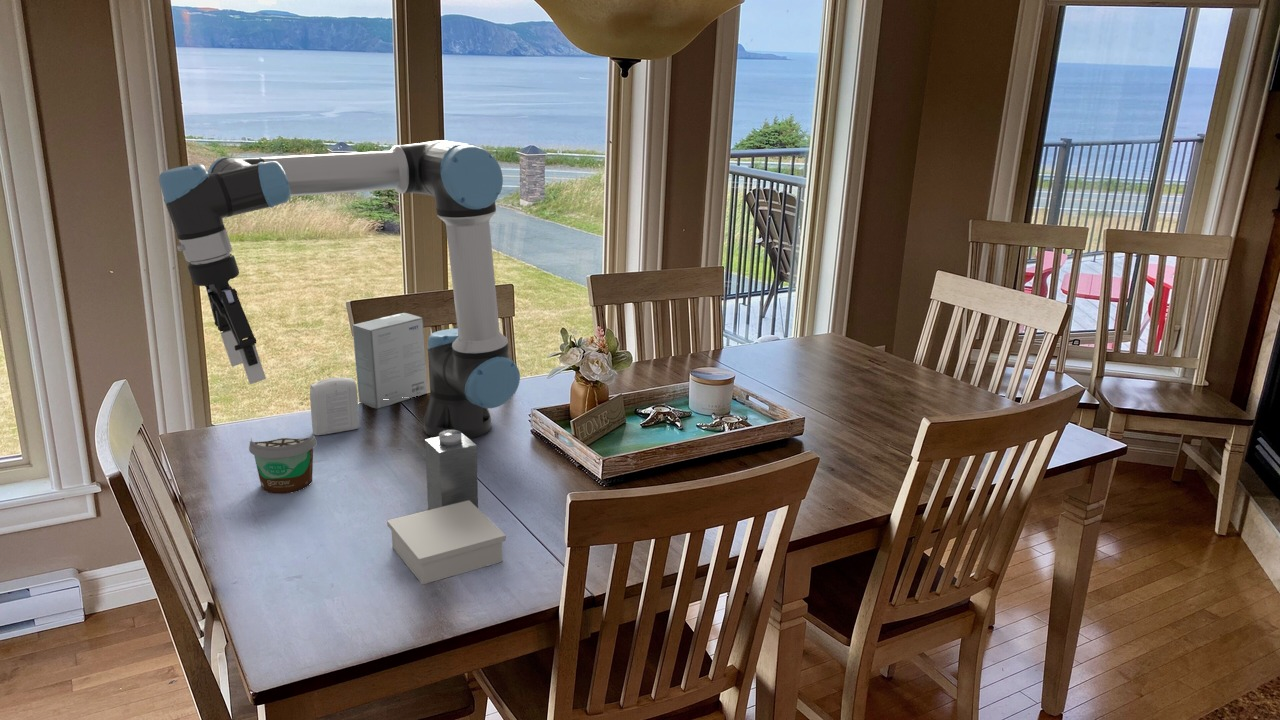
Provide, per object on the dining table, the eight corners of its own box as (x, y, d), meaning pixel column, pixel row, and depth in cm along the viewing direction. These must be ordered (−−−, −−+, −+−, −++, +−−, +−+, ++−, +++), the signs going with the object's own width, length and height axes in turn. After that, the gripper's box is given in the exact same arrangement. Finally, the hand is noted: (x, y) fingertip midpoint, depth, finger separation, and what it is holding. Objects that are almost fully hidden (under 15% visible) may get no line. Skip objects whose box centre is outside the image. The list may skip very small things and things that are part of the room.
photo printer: (356, 423, 210) (352, 372, 206) (362, 429, 206) (358, 377, 203) (310, 431, 204) (305, 379, 201) (315, 438, 201) (311, 384, 197)
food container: (249, 499, 172) (243, 450, 169) (253, 485, 178) (248, 438, 175) (318, 493, 175) (314, 445, 172) (320, 479, 181) (316, 433, 178)
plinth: (469, 525, 165) (469, 500, 163) (506, 561, 153) (505, 535, 152) (388, 546, 157) (387, 520, 155) (420, 586, 145) (419, 559, 144)
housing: (463, 500, 174) (460, 424, 170) (478, 514, 169) (476, 436, 164) (428, 508, 171) (424, 431, 166) (442, 523, 165) (439, 444, 160)
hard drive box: (409, 387, 234) (405, 311, 228) (428, 394, 230) (424, 317, 223) (357, 402, 223) (351, 323, 217) (375, 410, 218) (370, 329, 212)
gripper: (173, 255, 163) (211, 363, 171) (201, 274, 144) (243, 396, 151) (217, 243, 167) (252, 350, 175) (250, 261, 147) (288, 381, 155)
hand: (248, 372), depth 163 cm, fingers open, 13 cm apart
